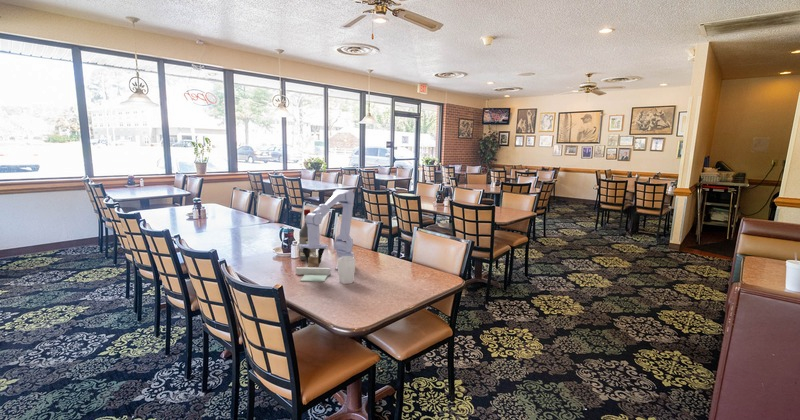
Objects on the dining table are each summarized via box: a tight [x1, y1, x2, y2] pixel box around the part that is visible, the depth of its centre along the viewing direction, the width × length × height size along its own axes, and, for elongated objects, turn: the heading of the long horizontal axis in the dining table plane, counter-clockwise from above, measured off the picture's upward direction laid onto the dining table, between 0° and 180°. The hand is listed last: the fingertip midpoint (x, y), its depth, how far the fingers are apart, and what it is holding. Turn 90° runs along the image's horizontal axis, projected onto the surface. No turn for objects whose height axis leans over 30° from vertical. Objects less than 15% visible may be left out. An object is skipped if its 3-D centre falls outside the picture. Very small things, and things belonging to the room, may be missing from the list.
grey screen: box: [295, 266, 331, 276], centre depth 199 cm, size 18×1×4 cm, turn 90°
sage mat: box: [299, 275, 329, 283], centre depth 193 cm, size 12×9×1 cm
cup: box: [336, 256, 356, 285], centre depth 189 cm, size 9×9×12 cm
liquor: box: [298, 208, 317, 262], centre depth 226 cm, size 9×9×30 cm
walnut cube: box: [307, 254, 321, 268], centre depth 192 cm, size 5×5×5 cm
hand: (314, 262), depth 192 cm, fingers closed on walnut cube, 5 cm apart
